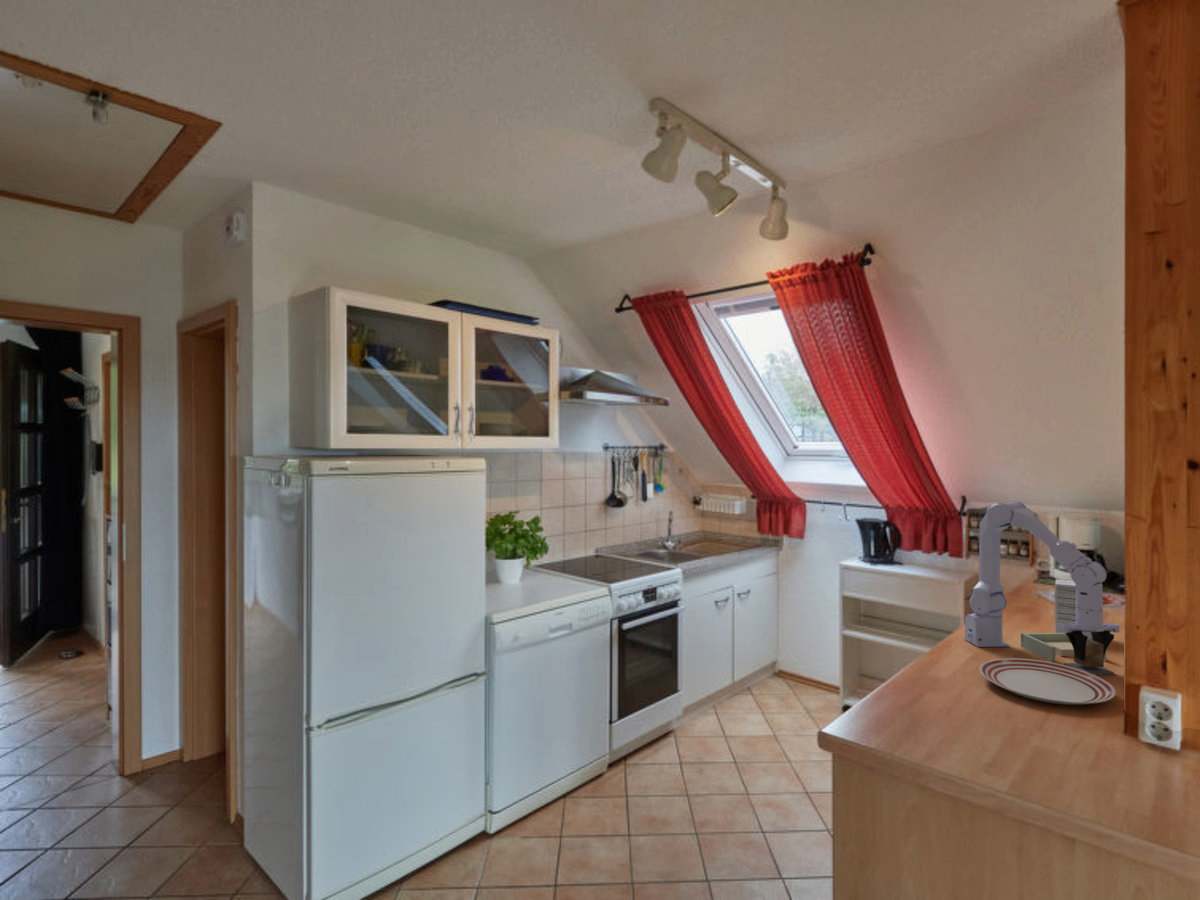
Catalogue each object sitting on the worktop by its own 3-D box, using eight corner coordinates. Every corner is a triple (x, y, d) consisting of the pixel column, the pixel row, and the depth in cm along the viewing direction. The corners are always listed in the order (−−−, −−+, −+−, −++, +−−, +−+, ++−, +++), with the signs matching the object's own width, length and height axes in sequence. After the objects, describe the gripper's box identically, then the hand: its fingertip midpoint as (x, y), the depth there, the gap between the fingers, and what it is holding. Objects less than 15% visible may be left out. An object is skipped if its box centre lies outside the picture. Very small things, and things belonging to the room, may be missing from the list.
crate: (1051, 661, 175) (1051, 647, 175) (1021, 646, 188) (1020, 633, 188) (1106, 661, 174) (1106, 646, 174) (1071, 646, 187) (1071, 632, 187)
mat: (1085, 675, 164) (1085, 673, 164) (1063, 664, 172) (1063, 663, 172) (1116, 675, 164) (1116, 673, 164) (1093, 664, 172) (1093, 662, 172)
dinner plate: (1143, 718, 139) (1143, 703, 139) (1006, 709, 145) (1006, 694, 145) (1076, 673, 166) (1076, 661, 166) (963, 667, 172) (963, 655, 172)
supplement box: (1092, 643, 190) (1091, 587, 190) (1054, 637, 196) (1054, 583, 196) (1091, 635, 198) (1091, 581, 198) (1055, 630, 203) (1055, 578, 203)
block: (1086, 667, 166) (1086, 644, 166) (1073, 661, 171) (1073, 639, 171) (1103, 667, 166) (1103, 644, 166) (1090, 661, 171) (1090, 639, 171)
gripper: (1072, 612, 164) (1073, 664, 164) (1128, 612, 164) (1129, 663, 164) (1053, 605, 171) (1054, 655, 171) (1107, 605, 171) (1107, 654, 171)
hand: (1089, 658), depth 168 cm, fingers closed on block, 4 cm apart
